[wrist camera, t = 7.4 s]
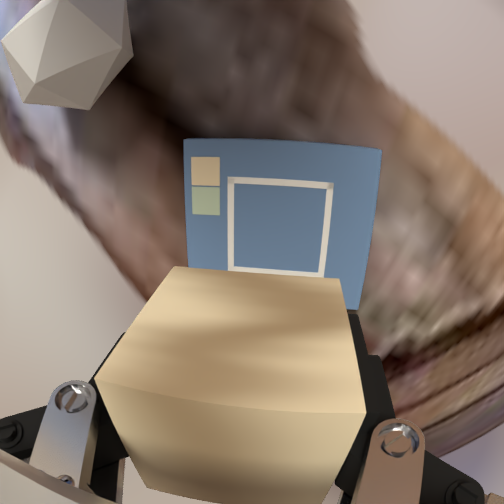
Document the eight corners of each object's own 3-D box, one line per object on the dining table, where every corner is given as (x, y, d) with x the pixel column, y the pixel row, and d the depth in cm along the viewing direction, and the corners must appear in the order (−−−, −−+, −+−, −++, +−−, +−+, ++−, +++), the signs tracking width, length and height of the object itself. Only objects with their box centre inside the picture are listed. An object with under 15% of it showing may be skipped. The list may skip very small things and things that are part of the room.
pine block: (339, 278, 9) (366, 412, 5) (316, 393, 11) (317, 511, 7) (174, 266, 10) (94, 377, 5) (187, 380, 12) (147, 487, 7)
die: (152, -15, 16) (30, -39, 9) (180, 44, 14) (6, 14, 7) (104, 64, 22) (-2, 56, 15) (118, 137, 20) (-17, 136, 13)
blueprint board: (377, 148, 19) (382, 150, 18) (355, 300, 23) (358, 310, 22) (189, 138, 20) (183, 139, 19) (195, 288, 24) (190, 296, 23)
